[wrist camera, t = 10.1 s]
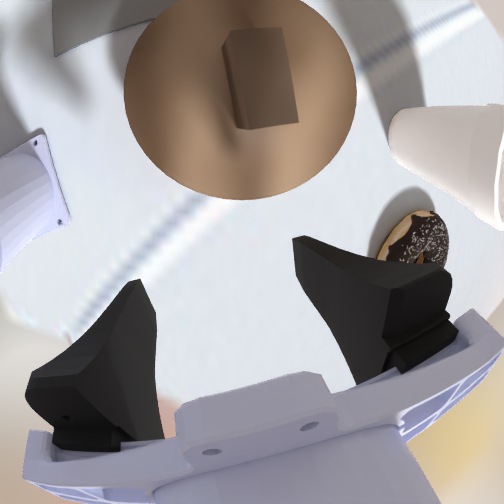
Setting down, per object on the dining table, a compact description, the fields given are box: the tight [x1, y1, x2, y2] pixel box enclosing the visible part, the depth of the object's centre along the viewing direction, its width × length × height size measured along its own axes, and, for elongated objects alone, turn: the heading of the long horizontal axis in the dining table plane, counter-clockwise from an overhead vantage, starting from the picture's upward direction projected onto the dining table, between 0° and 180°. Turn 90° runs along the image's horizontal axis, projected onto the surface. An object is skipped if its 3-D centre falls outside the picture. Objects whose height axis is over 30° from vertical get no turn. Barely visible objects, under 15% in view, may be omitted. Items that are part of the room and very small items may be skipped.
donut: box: [377, 211, 449, 268], centre depth 28 cm, size 11×12×4 cm
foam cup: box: [388, 104, 504, 232], centre depth 17 cm, size 10×9×13 cm
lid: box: [124, 0, 357, 200], centre depth 12 cm, size 14×14×4 cm
